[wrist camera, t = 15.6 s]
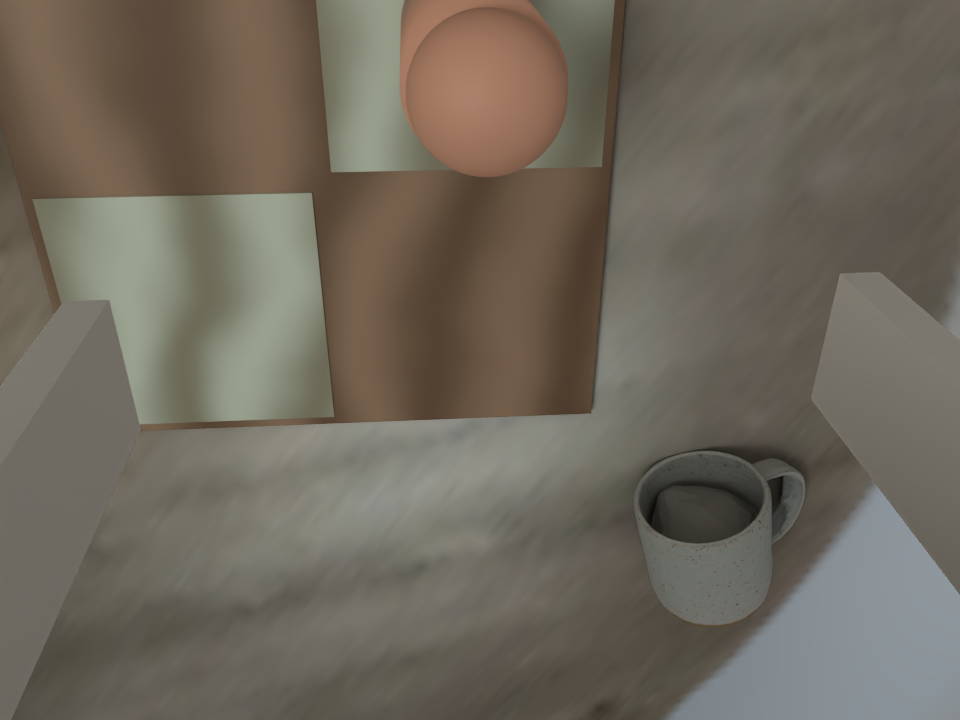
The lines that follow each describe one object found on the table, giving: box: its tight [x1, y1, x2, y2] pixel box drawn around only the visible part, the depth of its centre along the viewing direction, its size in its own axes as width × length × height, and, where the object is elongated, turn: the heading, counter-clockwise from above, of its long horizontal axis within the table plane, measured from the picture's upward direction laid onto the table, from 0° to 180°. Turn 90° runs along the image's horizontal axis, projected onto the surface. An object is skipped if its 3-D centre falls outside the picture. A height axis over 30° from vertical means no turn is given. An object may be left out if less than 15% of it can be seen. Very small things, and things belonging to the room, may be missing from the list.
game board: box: [0, 0, 625, 431], centre depth 41 cm, size 28×28×1 cm
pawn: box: [399, 0, 568, 177], centre depth 31 cm, size 6×6×15 cm
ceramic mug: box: [633, 451, 805, 627], centre depth 50 cm, size 11×8×8 cm
